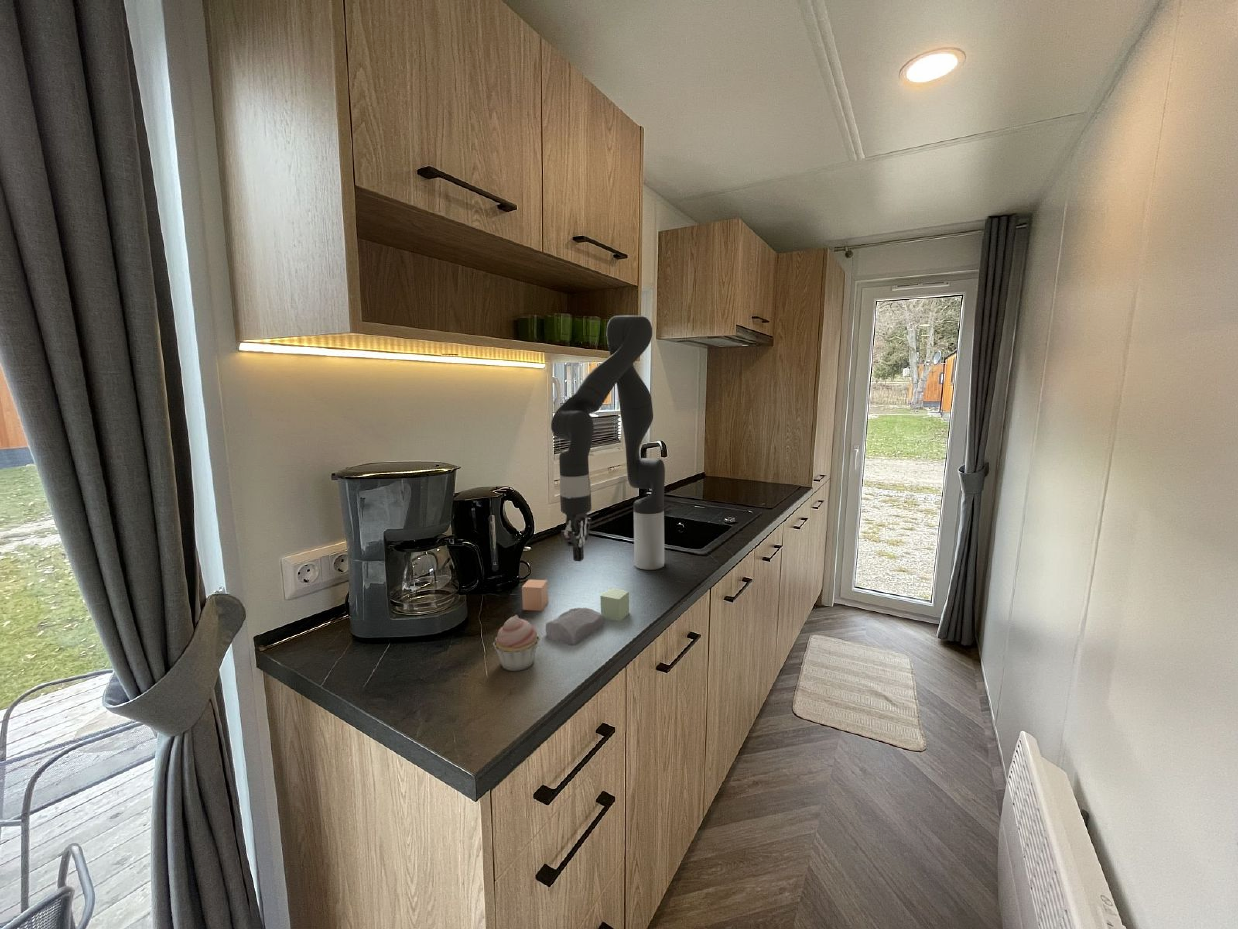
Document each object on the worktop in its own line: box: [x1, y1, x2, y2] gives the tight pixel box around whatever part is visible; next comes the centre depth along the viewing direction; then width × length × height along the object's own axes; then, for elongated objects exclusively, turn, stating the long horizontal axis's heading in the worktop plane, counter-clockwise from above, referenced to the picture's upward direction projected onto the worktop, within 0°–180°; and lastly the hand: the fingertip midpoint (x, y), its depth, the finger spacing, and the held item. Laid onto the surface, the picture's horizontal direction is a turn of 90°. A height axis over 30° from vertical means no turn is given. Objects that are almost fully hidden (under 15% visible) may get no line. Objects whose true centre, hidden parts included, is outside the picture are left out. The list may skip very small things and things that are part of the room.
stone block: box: [545, 607, 606, 646], centre depth 113 cm, size 12×5×10 cm
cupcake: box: [492, 614, 542, 672], centre depth 99 cm, size 9×9×10 cm
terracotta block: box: [521, 579, 549, 612], centre depth 126 cm, size 5×5×6 cm
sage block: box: [599, 588, 630, 622], centre depth 120 cm, size 5×5×6 cm
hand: (578, 560), depth 124 cm, fingers closed
